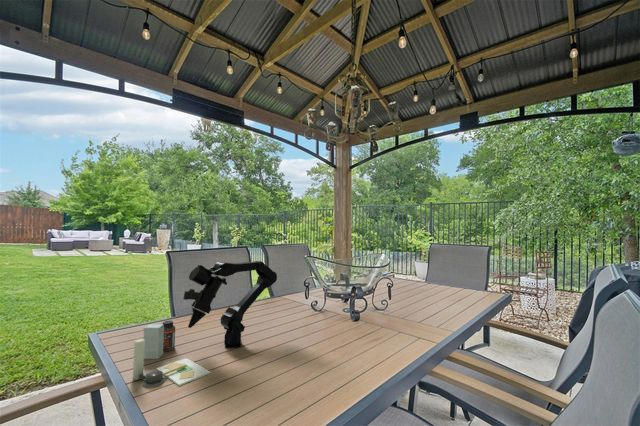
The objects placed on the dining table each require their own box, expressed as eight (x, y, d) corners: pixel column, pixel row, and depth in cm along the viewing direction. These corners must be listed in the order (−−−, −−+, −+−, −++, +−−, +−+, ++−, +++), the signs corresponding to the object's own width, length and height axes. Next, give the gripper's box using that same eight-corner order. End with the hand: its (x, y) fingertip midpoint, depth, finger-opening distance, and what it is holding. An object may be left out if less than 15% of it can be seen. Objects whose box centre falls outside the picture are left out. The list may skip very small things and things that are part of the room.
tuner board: (186, 359, 115) (186, 357, 115) (210, 373, 104) (210, 371, 104) (133, 377, 101) (133, 375, 101) (154, 396, 90) (155, 394, 90)
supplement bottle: (157, 352, 121) (158, 324, 121) (160, 346, 126) (161, 320, 127) (173, 351, 122) (174, 323, 123) (175, 345, 128) (176, 319, 129)
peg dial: (142, 368, 106) (143, 334, 107) (187, 366, 108) (188, 333, 108) (125, 384, 95) (127, 346, 96) (175, 382, 97) (177, 345, 97)
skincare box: (163, 354, 119) (164, 324, 120) (158, 359, 115) (159, 327, 115) (148, 354, 119) (149, 324, 120) (142, 359, 115) (143, 327, 115)
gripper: (190, 282, 129) (169, 317, 122) (193, 280, 112) (169, 320, 106) (214, 293, 131) (195, 328, 125) (220, 293, 115) (198, 333, 109)
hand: (189, 327), depth 116 cm, fingers closed
